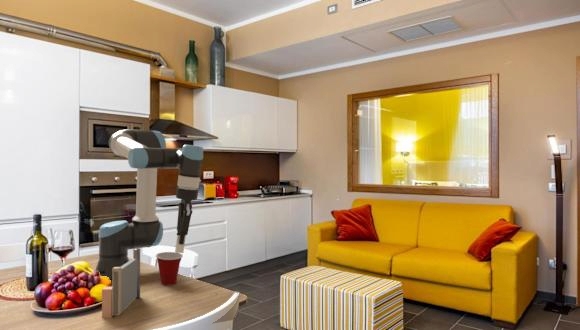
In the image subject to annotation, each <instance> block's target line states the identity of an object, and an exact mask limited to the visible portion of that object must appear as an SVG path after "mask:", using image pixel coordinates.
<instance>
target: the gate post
mask: <svg viewBox="0 0 580 330" xmlns="http://www.w3.org/2000/svg"><path fill="white" fill-rule="evenodd" d="M132 254H133V256H132V257H133V258H132V259H137V297H136V298H135V299H134V300H138V299H140V298H141V248H137V249H132Z"/></svg>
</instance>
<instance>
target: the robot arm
mask: <svg viewBox="0 0 580 330" xmlns="http://www.w3.org/2000/svg"><path fill="white" fill-rule="evenodd" d="M108 146H109V150H110V151H111V152H113V154H115V155H117V156H120V157H125V158H126V159H127V162H128V164H129V167H130V168H131V169H136V170H137V171H136V194H135V195H136V196H135V198H136V199H135V201H136V203H135V206H136V207H135V215H134V216H133V217H132V219H131V222H129V221H127V220H115V221H109V222H106V223H103V224H102V225H101V226H99V229H98V260H97V263H96V266H95V268H94V269H95V270H94V272H95V271H97V270H98V271H99V272H100V275H101V276H107V277H109V278H111V279H110V280H112V268H114V267H121V266H122V265H124V264H125V263H127V262H128V261H130V259H129V254H128V251H130V250H133V249H144V248H151V247H156V246H158V245H159V244H160V243H161V241H162V239H163V236H164V227H163V226H164V225H163V223H162V221H161V220H160V218H159V217H158V216H157V213H156V211H157V210H156V209H157V206H156V205H157V181H158V169H178V171H179V172H178V178H177V188H176V192H175V197H176V199H179V200H180V202H179V203H178V205H177V206H178V210H177V211H178V214H177V224H176V231H177V233H176V242H175V248H174V249H175V251H174V252H175V253H180V254H184V252H185V243H186V238H187V237H186V236H187V235H188V233H189V228H190V223H191V218H192V214H193V210H192V209H193V204H192V201H196V200H198V196H199V187H200V183H201V182H202V180H201V173H202V166H203V159H204V147H202V146H200V145H199V146H198V145H193V144H184V145H183V146H182V147H171V148H170V147H169V148H168V147H167V143H166V139H165V136H164V135H163V133H162V132H161V131H158V130H152V129H149V130H148V129H132V128H130V129H129V128H128V129H120V130H118V131H116V132H114V133H112V135H111V136H110V138H109V140H108Z"/></svg>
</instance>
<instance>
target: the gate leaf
mask: <svg viewBox="0 0 580 330" xmlns="http://www.w3.org/2000/svg"><path fill="white" fill-rule="evenodd" d="M111 281H112V282H111V283H112V285H111V287H112V315H113V316H120V315H121V314H122V312H123V311H124V310H125V309H126V308H127V307H129V305H130V304H132V302H134V301H135V300H136V299H135V298H136V297H137V259H133V258H132V259H129V261H128V262H127V263H125V264H124V265H122V266H121V267H114V268H112V279H111Z"/></svg>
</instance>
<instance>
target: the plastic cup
mask: <svg viewBox="0 0 580 330" xmlns="http://www.w3.org/2000/svg"><path fill="white" fill-rule="evenodd" d="M155 257H156V260H157V264H158V271H159V277H160V283H161V285H163V286H172V284H173V285H175V284H177V278H178V275H179V268H180V263H181V262H182V261H181V260H182V258H183V257H184V256H183V253H176V252H175V251H164V252H159V253H156V254H155Z"/></svg>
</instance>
